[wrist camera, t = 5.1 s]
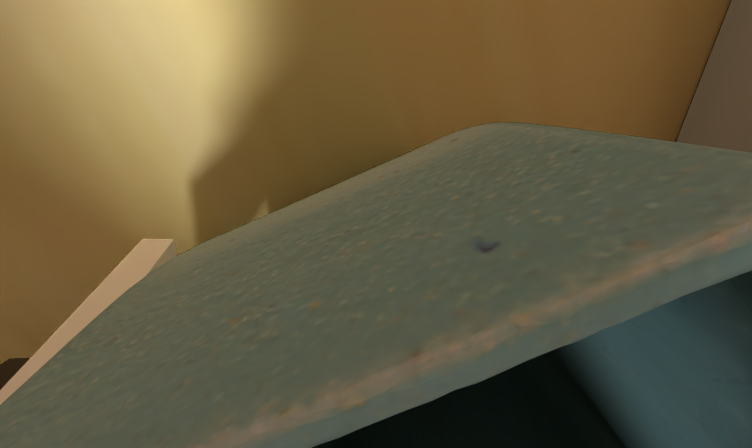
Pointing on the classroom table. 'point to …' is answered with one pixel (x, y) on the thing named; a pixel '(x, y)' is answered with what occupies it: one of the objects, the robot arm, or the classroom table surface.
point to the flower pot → (439, 311)
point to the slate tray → (725, 88)
